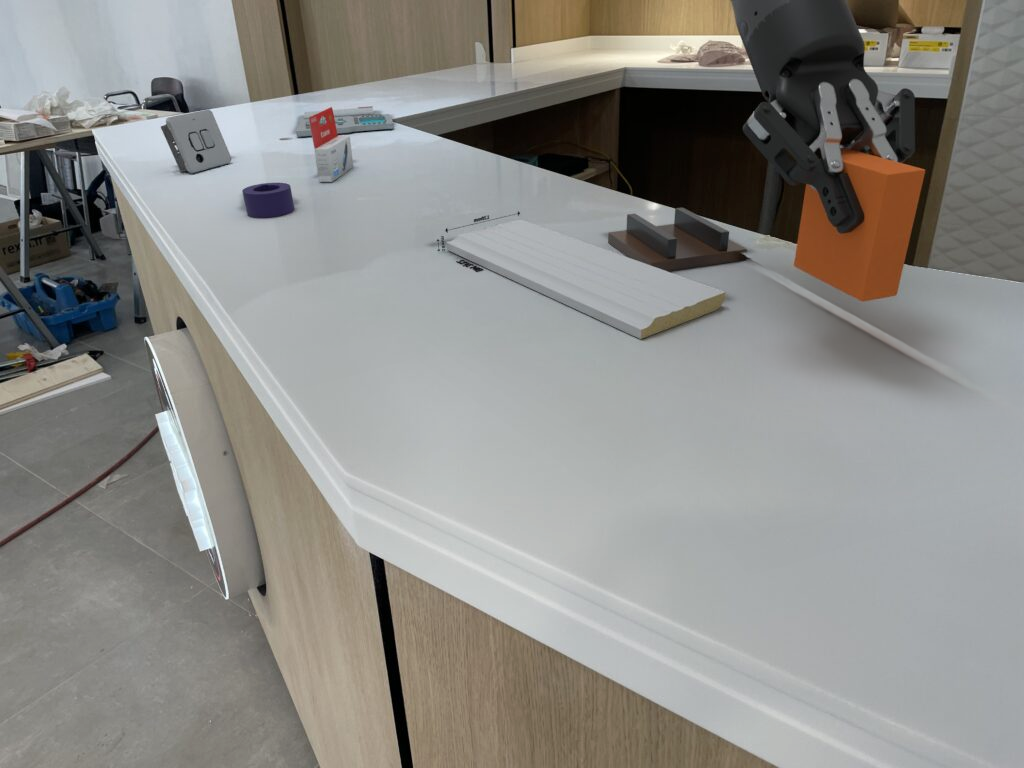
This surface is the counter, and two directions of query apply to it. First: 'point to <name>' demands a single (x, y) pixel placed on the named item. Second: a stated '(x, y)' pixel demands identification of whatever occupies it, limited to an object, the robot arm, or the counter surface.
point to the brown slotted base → (676, 242)
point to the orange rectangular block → (863, 229)
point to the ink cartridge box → (330, 147)
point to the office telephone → (349, 121)
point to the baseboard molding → (587, 276)
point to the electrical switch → (196, 141)
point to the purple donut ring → (268, 200)
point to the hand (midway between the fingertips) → (874, 223)
